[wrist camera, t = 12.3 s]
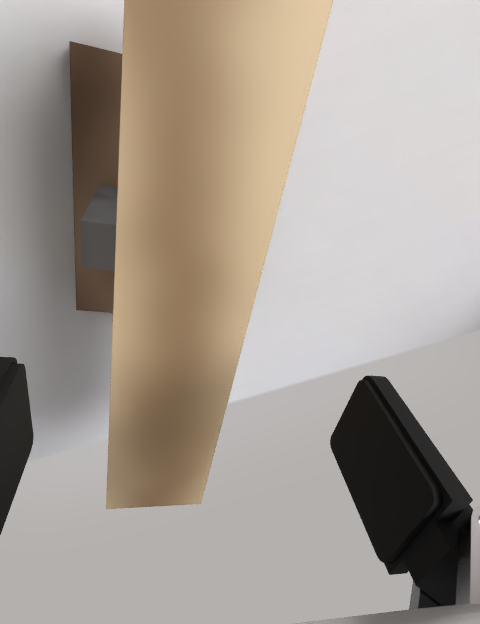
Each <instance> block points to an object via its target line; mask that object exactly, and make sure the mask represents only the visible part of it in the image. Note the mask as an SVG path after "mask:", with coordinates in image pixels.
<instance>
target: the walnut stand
mask: <svg viewBox="0 0 480 624" xmlns="http://www.w3.org/2000/svg"><path fill="white" fill-rule="evenodd" d="M69 42H70V80H71V119H72V157H73V196H74V234H75V273H76V310H84V311H98V312H111V313H113V306H114V278H115V250H116V222H117V195H118V167H119V139H120V111H121V84H122V56H123V54H120V53H116V52H112V51H108V50H104V49H99V48H95V47H91V46H87V45H83V44H79V43H75V42H71V41H69Z"/></svg>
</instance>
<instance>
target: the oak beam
mask: <svg viewBox="0 0 480 624" xmlns="http://www.w3.org/2000/svg"><path fill="white" fill-rule="evenodd" d="M332 3H333V0H124V28H123V56H122V84H121V111H120V139H119V167H118V195H117V222H116V250H115V278H114V306H113V333H112V361H111V389H110V416H109V444H108V473H107V500H106V501H107V502H106V509H116V508H133V507H152V506H168V505H186V504H201V502H202V498H203V494H204V490H205V486H206V482H207V479H208V475H209V471H210V467H211V464H212V460H213V456H214V452H215V448H216V445H217V440H218V437H219V433H220V429H221V426H222V421H223V418H224V414H225V410H226V407H227V403H228V399H229V395H230V391H231V388H232V384H233V380H234V376H235V372H236V368H237V365H238V361H239V357H240V353H241V349H242V346H243V342H244V338H245V334H246V330H247V327H248V323H249V319H250V315H251V311H252V308H253V304H254V300H255V296H256V292H257V289H258V285H259V281H260V277H261V273H262V270H263V266H264V262H265V258H266V254H267V251H268V247H269V243H270V239H271V235H272V232H273V228H274V224H275V220H276V216H277V213H278V209H279V205H280V201H281V197H282V194H283V190H284V186H285V182H286V178H287V174H288V171H289V167H290V163H291V159H292V155H293V152H294V148H295V144H296V140H297V136H298V133H299V129H300V125H301V121H302V117H303V114H304V110H305V106H306V102H307V98H308V95H309V91H310V87H311V83H312V79H313V76H314V72H315V68H316V64H317V60H318V57H319V53H320V49H321V45H322V41H323V38H324V34H325V30H326V26H327V22H328V19H329V15H330V11H331V7H332Z"/></svg>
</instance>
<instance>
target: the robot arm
mask: <svg viewBox="0 0 480 624" xmlns="http://www.w3.org/2000/svg"><path fill="white" fill-rule="evenodd" d="M32 444H33V428H32V420H31V412H30V404H29V396H28V387H27V379H26V371H25V366H24V364H17V360H16V358H12V357H0V534H1V532H2V529H3V526H4V523H5V521H6V518H7V515H8V512H9V510H10V507H11V504H12V501H13V498H14V496H15V493H16V490H17V487H18V484H19V482H20V479H21V476H22V474H23V471H24V468H25V465H26V463H27V460H28V457H29V454H30V452H31V448H32ZM330 445H331V449H332V451H333V454H334V456H335V459H336V461H337V463H338V466H339V468H340V470H341V473H342V475H343V477H344V480H345V482H346V484H347V487H348V489H349V491H350V493H351V496H352V498H353V501H354V503H355V505H356V508H357V510H358V512H359V515H360V517H361V519H362V522H363V524H364V526H365V529H366V531H367V533H368V536H369V538H370V541H371V543H372V545H373V547H374V550H375V552H376V555H377V556H378V558H379V559H380V561H382V562H383V563H385V566H386V568H387V570H388V573H389V574H390V575H392V574H402V573H407V572H408V571H409V572H410V574H411V576H412V578H413V586H412V593H411V600H410V607H409V610H403V611H394V612H387V613H378V614H369V615H361V616H352V617H344V618H336V619H328V620H320V621H311V622H304V623H296V624H480V507H477V508H476V509H474V510H473V509H472V508H471V506H470V505H469V504H470V503H471V502H472V500H473V499H472V498H471V497H470V495H469V494H468V492H467V491H466V489H465V488H464V487H463V485H462V484H461V482H460V481H459V480H458V478H457V477H456V475H455V474H454V472H453V471H452V470H451V468H450V467H449V466H448V464H447V462H446V461H445V460H444V458H443V457H442V455H441V454H440V453H439V451H438V450H437V448H436V447H435V446H434V444H433V443H432V441H431V440H430V438H429V437H428V435H427V434H426V433H425V431H424V430H423V428H422V427H421V426H420V424H419V423H418V421H417V420H416V419H415V417H414V416H413V414H412V413H411V411H410V410H409V409H408V407H407V406H406V404H405V403H404V401H403V400H402V399H401V397H400V396H399V395H398V393H397V392H396V390H395V389H394V387H393V386H392V384H391V383H390V382H389V380H388V379H387V378H386V377H381V376H365V377H364V378H363V379H362V380H361V381H359V382H358V384H357V386H356V388H355V390H354V392H353V394H352V396H351V398H350V400H349V402H348V404H347V406H346V408H345V410H344V412H343V414H342V416H341V418H340V420H339V422H338V424H337V426H336V428H335V430H334V432H333V434H332V436H331V440H330Z"/></svg>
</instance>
